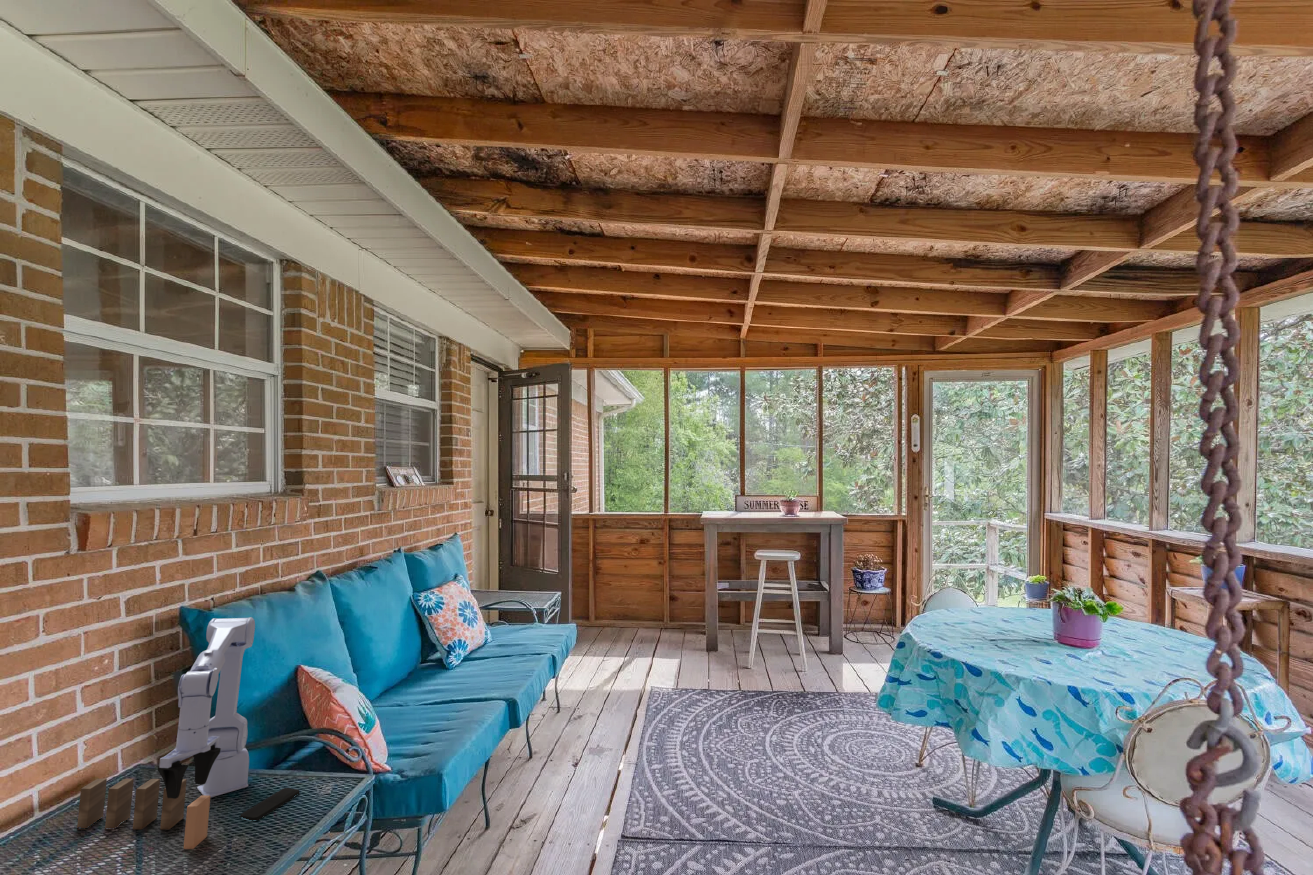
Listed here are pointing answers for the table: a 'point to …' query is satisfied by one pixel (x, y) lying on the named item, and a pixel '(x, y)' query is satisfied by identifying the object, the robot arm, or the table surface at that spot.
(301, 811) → the table surface
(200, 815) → the domino
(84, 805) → the domino
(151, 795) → the domino
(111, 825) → the domino
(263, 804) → the remote control
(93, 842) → the table surface
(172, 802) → the domino
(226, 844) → the table surface
